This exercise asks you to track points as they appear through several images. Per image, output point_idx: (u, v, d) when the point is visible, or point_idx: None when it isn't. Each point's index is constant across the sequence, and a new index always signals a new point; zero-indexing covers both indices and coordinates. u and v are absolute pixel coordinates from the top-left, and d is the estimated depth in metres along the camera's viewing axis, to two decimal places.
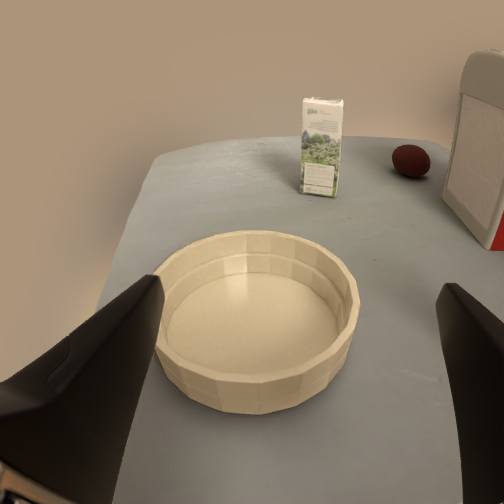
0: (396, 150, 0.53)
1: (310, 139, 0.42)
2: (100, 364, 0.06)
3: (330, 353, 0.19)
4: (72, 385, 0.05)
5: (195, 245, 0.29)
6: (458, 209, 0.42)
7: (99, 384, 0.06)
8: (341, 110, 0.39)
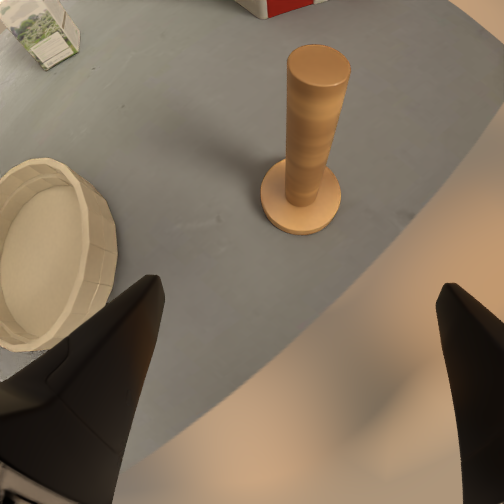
0: None
1: (20, 29, 0.22)
2: (100, 364, 0.06)
3: (80, 282, 0.19)
4: (72, 385, 0.05)
5: None
6: None
7: (99, 384, 0.06)
8: None
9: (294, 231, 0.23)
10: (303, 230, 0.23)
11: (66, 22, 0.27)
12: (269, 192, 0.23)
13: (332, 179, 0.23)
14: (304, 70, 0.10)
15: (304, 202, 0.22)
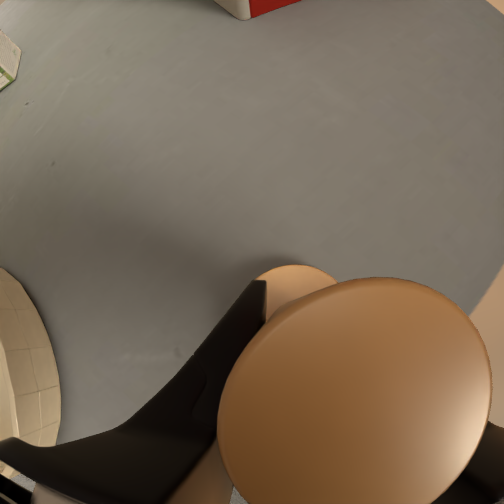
0: None
1: None
2: None
3: None
4: None
5: None
6: None
7: None
8: None
9: None
10: None
11: None
12: None
13: None
14: (295, 482, 0.02)
15: None
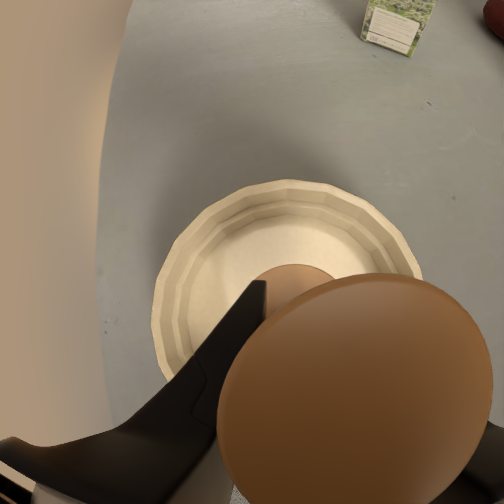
0: (492, 4, 0.21)
1: None
2: None
3: None
4: None
5: (209, 216, 0.19)
6: None
7: None
8: None
9: None
10: None
11: None
12: None
13: None
14: (295, 480, 0.02)
15: None
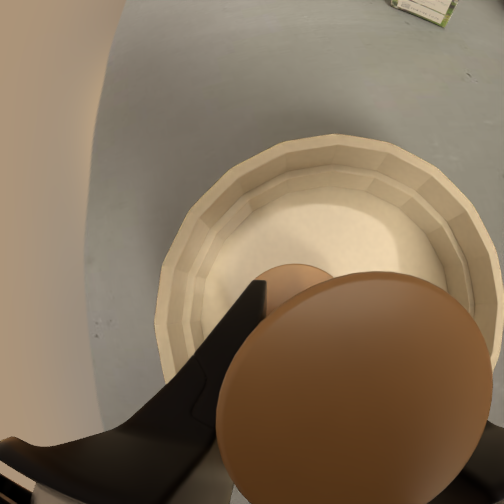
0: None
1: None
2: None
3: None
4: None
5: (236, 179, 0.13)
6: None
7: None
8: None
9: None
10: None
11: None
12: None
13: None
14: (294, 478, 0.02)
15: None
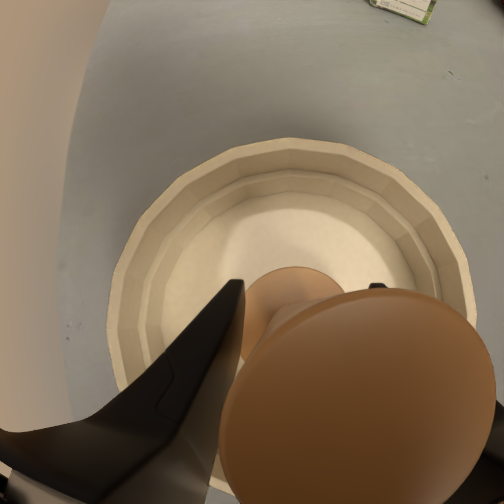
0: None
1: None
2: (210, 381, 0.06)
3: None
4: (189, 410, 0.05)
5: (184, 187, 0.13)
6: None
7: (207, 403, 0.06)
8: None
9: None
10: None
11: None
12: (247, 328, 0.15)
13: None
14: (297, 494, 0.02)
15: None
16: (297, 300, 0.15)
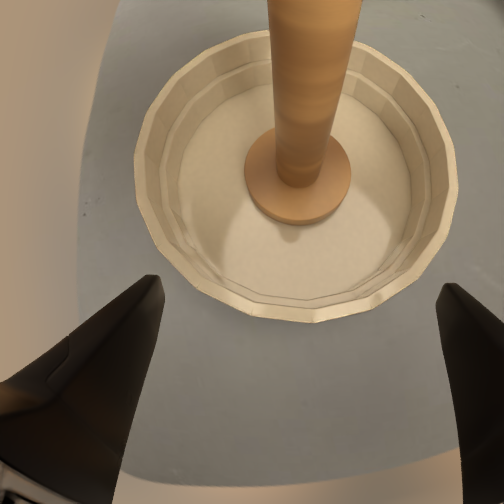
0: None
1: None
2: (100, 364, 0.06)
3: (412, 278, 0.13)
4: (72, 385, 0.05)
5: (208, 55, 0.15)
6: None
7: (99, 384, 0.06)
8: None
9: (290, 220, 0.17)
10: (302, 219, 0.17)
11: None
12: (256, 169, 0.17)
13: (339, 151, 0.17)
14: None
15: (303, 181, 0.16)
16: None
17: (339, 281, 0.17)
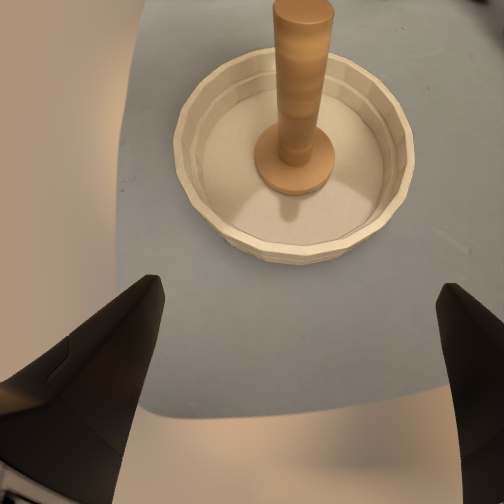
0: None
1: None
2: (100, 364, 0.06)
3: (378, 226, 0.18)
4: (72, 385, 0.05)
5: (227, 67, 0.21)
6: None
7: (99, 384, 0.06)
8: None
9: (289, 191, 0.22)
10: (298, 189, 0.22)
11: None
12: (263, 153, 0.23)
13: (326, 140, 0.23)
14: (289, 11, 0.09)
15: (298, 161, 0.21)
16: None
17: (327, 237, 0.23)
